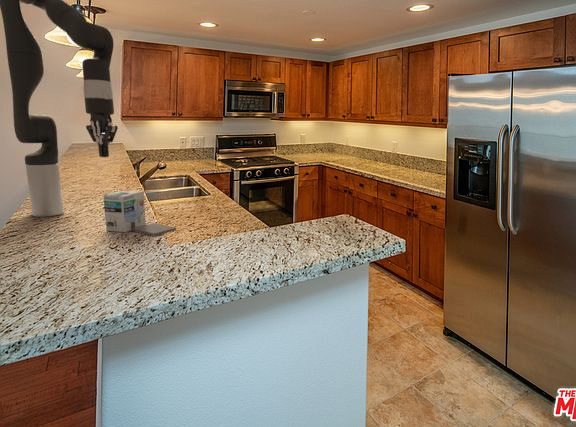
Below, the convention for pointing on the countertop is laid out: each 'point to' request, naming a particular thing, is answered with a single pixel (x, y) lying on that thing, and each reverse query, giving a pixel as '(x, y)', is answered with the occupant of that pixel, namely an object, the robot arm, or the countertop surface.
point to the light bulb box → (124, 210)
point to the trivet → (154, 229)
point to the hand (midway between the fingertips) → (104, 156)
